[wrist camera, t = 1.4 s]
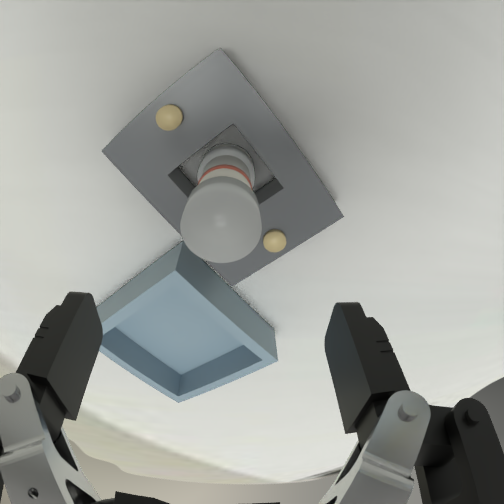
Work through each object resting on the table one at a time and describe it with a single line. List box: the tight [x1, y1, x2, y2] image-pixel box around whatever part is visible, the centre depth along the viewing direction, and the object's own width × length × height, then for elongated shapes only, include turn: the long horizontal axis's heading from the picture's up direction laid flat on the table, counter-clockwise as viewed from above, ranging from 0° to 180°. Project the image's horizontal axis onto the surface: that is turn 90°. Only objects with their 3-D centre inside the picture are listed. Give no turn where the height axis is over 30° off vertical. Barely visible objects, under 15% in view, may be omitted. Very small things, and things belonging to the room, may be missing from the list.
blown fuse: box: [180, 143, 262, 263], centre depth 19 cm, size 4×4×9 cm
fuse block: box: [102, 48, 344, 286], centre depth 21 cm, size 10×14×3 cm
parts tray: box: [97, 241, 278, 403], centre depth 29 cm, size 13×13×4 cm
